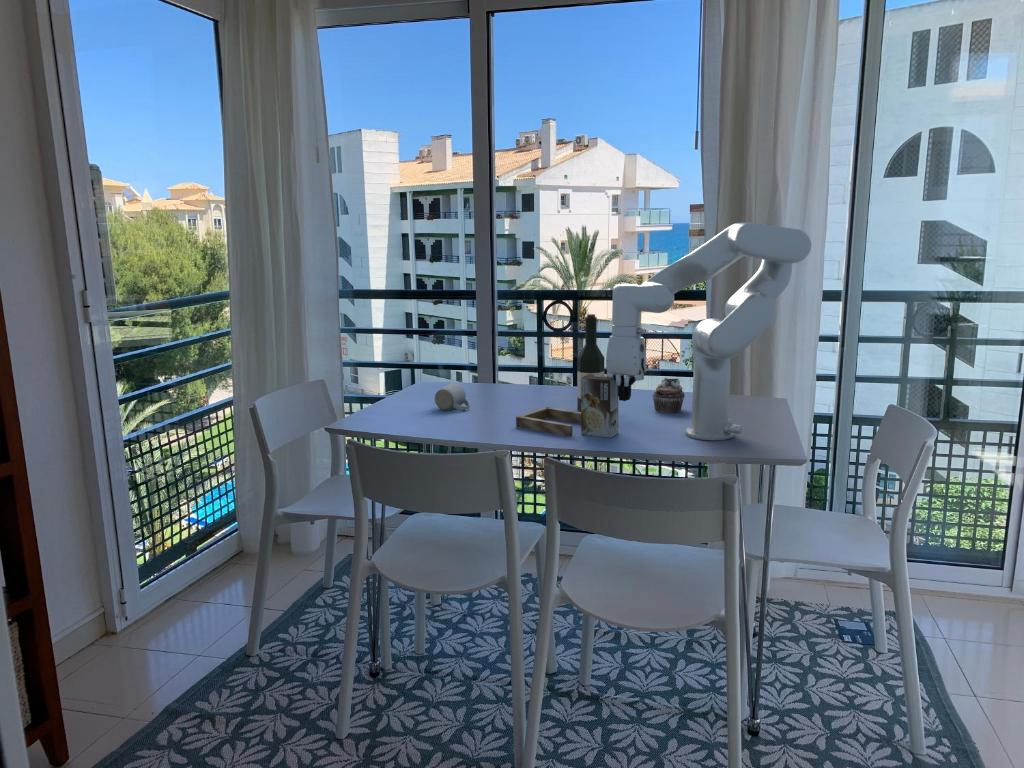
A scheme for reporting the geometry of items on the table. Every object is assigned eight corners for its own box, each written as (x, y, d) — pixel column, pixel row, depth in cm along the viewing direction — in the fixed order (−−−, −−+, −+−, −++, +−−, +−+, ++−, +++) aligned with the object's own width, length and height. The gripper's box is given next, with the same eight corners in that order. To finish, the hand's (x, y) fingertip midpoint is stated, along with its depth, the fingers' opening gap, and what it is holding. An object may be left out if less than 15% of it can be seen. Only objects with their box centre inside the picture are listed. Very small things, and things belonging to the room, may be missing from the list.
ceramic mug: (433, 410, 236) (432, 386, 235) (446, 404, 244) (445, 381, 242) (462, 413, 232) (462, 389, 230) (474, 407, 239) (474, 384, 238)
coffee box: (619, 432, 206) (620, 376, 203) (610, 438, 201) (611, 380, 197) (589, 429, 210) (589, 373, 207) (579, 434, 205) (579, 377, 202)
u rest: (598, 425, 214) (598, 415, 214) (569, 436, 203) (569, 426, 202) (546, 416, 226) (546, 406, 225) (516, 426, 214) (515, 416, 214)
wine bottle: (602, 413, 228) (603, 316, 222) (575, 412, 230) (575, 315, 224) (605, 407, 236) (605, 312, 230) (578, 406, 238) (579, 312, 232)
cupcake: (651, 406, 236) (652, 375, 234) (682, 407, 234) (683, 376, 232) (652, 414, 227) (653, 381, 225) (685, 414, 225) (686, 382, 223)
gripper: (658, 332, 193) (656, 401, 197) (609, 328, 202) (607, 394, 206) (644, 335, 187) (642, 406, 191) (594, 330, 196) (593, 398, 200)
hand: (624, 399), depth 198 cm, fingers closed
